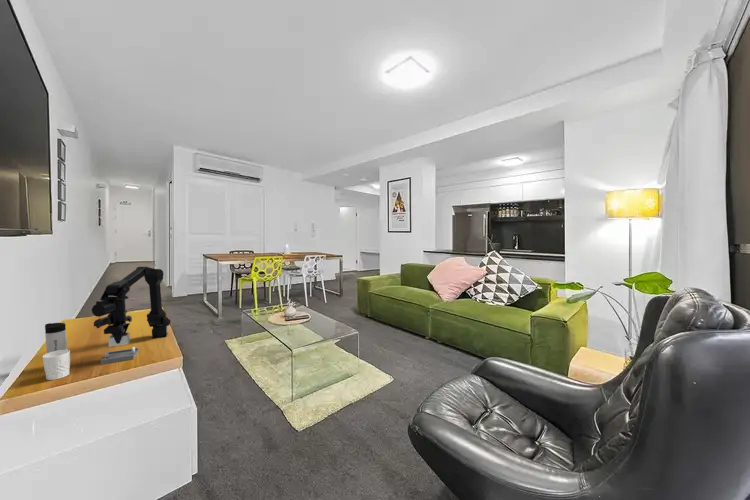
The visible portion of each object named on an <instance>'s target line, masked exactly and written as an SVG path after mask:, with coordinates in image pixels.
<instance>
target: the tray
mask: <svg viewBox="0 0 750 500" xmlns="http://www.w3.org/2000/svg"><path fill="white" fill-rule="evenodd" d="M138 353H139V347H135V346H132V347H131V348H127V349H126V348H125V349H120V350H112V351H109V350H104V357H103V358H101V359H100V365H105V364H111V363H117V362H118V363H119V362H125V361H131V360H134V359H135V358H136V356H137V355H138Z"/></svg>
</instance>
